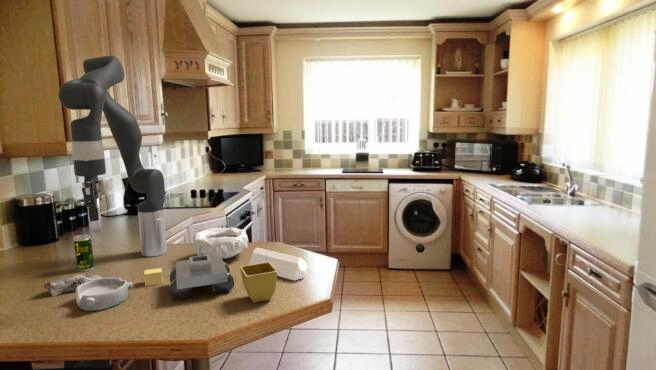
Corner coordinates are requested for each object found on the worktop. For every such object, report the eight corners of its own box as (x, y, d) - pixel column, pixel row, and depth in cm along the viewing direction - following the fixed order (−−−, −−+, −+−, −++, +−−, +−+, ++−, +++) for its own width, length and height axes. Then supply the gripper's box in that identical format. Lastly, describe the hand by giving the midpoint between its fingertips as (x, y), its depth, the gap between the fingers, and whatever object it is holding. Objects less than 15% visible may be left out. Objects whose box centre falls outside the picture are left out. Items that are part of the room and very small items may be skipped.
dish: (93, 317, 108) (91, 299, 108) (64, 306, 115) (62, 289, 114) (141, 296, 121) (140, 280, 120) (112, 288, 128) (111, 272, 127)
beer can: (77, 268, 145) (74, 235, 144) (95, 265, 148) (91, 233, 146) (75, 273, 141) (72, 239, 139) (93, 270, 143) (90, 237, 141)
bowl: (209, 248, 167) (208, 224, 165) (257, 250, 163) (256, 225, 161) (182, 265, 147) (180, 238, 145) (235, 268, 142) (233, 240, 141)
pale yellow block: (145, 282, 132) (144, 270, 131) (162, 279, 134) (161, 268, 133) (145, 286, 128) (144, 274, 128) (162, 284, 130) (161, 272, 129)
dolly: (170, 283, 130) (168, 254, 128) (228, 275, 136) (226, 247, 135) (170, 304, 115) (167, 271, 114) (235, 293, 121) (233, 262, 120)
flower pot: (247, 307, 112) (246, 276, 111) (241, 295, 120) (239, 266, 119) (278, 301, 116) (277, 271, 114) (270, 290, 124) (269, 261, 122)
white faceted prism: (240, 259, 141) (293, 273, 127) (253, 244, 145) (306, 257, 131) (249, 273, 145) (301, 289, 131) (262, 259, 149) (313, 272, 135)
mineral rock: (101, 279, 135) (99, 266, 134) (101, 287, 128) (100, 274, 127) (46, 289, 127) (45, 276, 127) (44, 298, 120) (42, 284, 120)
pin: (90, 230, 116) (86, 192, 114) (104, 229, 117) (101, 191, 116) (88, 234, 113) (83, 194, 111) (102, 232, 114) (98, 193, 112)
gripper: (78, 156, 117) (84, 215, 120) (67, 160, 104) (74, 226, 107) (108, 155, 120) (113, 213, 122) (100, 159, 107) (106, 223, 109)
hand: (95, 219), depth 114 cm, fingers closed on pin, 2 cm apart
